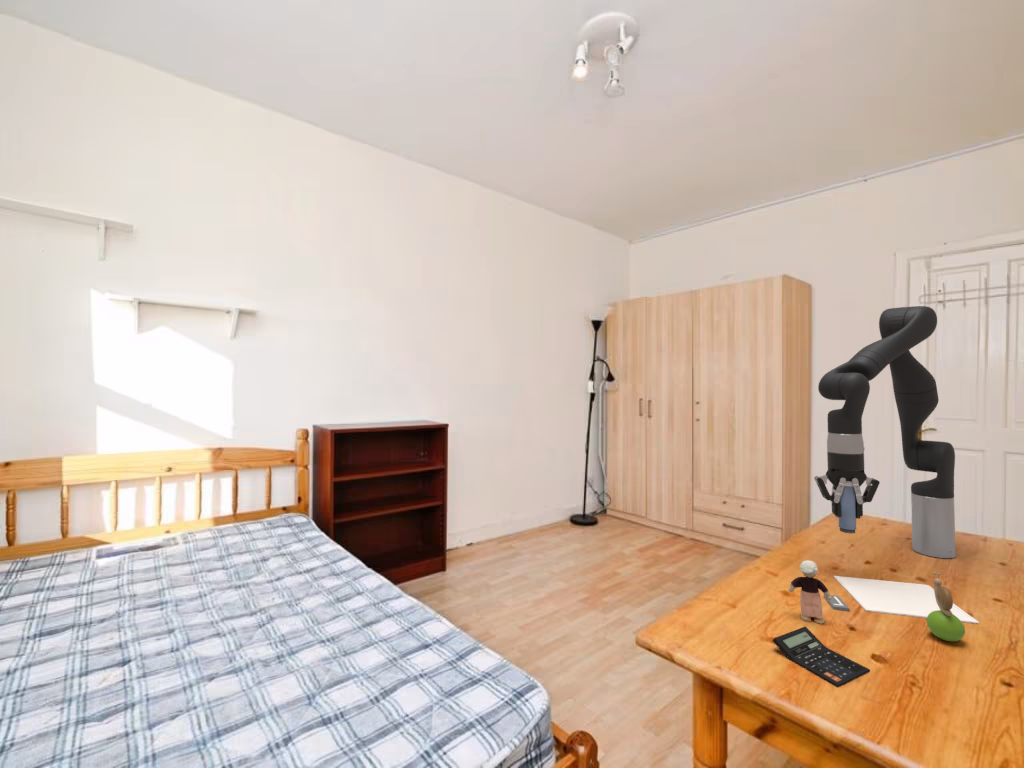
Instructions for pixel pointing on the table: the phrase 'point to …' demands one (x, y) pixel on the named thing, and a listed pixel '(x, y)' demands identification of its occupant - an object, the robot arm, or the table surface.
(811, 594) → the grandmother figurine
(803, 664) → the calculator
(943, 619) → the snail figurine
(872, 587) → the paper
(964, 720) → the table surface
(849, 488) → the grey-blue cylinder
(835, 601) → the letter card
